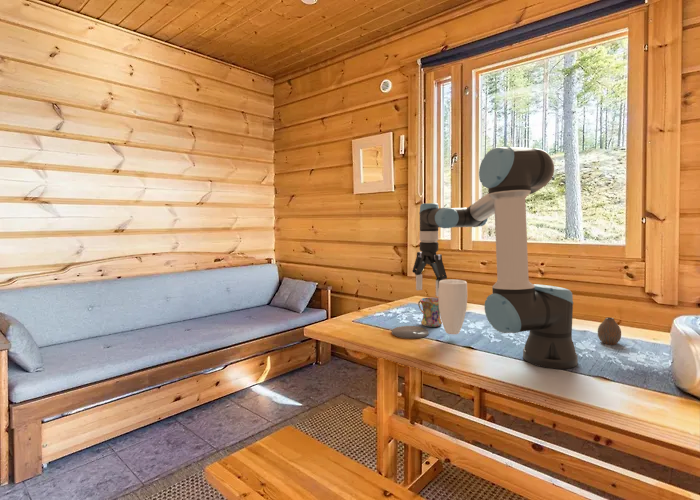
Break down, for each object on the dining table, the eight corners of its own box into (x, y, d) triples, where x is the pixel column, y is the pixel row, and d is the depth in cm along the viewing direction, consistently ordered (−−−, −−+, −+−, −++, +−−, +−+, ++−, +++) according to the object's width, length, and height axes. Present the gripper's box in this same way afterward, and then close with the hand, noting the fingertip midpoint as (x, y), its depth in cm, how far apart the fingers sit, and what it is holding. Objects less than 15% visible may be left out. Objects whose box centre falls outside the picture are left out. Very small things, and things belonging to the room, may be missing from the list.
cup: (471, 339, 148) (471, 280, 146) (461, 346, 139) (462, 284, 137) (444, 334, 154) (444, 278, 152) (433, 342, 145) (433, 282, 143)
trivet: (436, 335, 153) (436, 333, 153) (404, 341, 147) (404, 338, 147) (414, 326, 165) (414, 324, 165) (385, 331, 159) (384, 328, 159)
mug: (447, 325, 166) (447, 300, 165) (432, 329, 161) (432, 303, 160) (426, 319, 176) (426, 295, 175) (410, 323, 170) (410, 298, 169)
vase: (609, 347, 137) (610, 321, 136) (592, 341, 143) (593, 316, 143) (625, 345, 138) (626, 319, 138) (608, 339, 145) (609, 315, 144)
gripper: (456, 243, 156) (455, 297, 158) (418, 239, 178) (418, 287, 180) (440, 244, 152) (440, 299, 154) (404, 239, 175) (404, 288, 177)
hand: (428, 292), depth 167 cm, fingers open, 13 cm apart
